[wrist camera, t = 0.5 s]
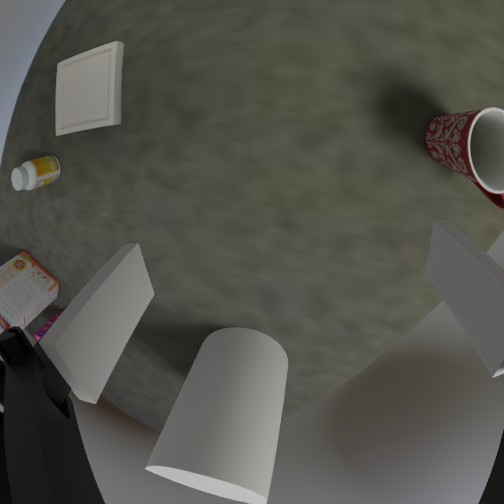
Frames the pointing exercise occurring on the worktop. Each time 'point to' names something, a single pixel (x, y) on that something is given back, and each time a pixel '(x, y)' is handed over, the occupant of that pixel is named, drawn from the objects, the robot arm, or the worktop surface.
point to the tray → (89, 89)
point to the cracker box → (24, 291)
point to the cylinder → (226, 418)
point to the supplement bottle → (36, 173)
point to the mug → (472, 148)
